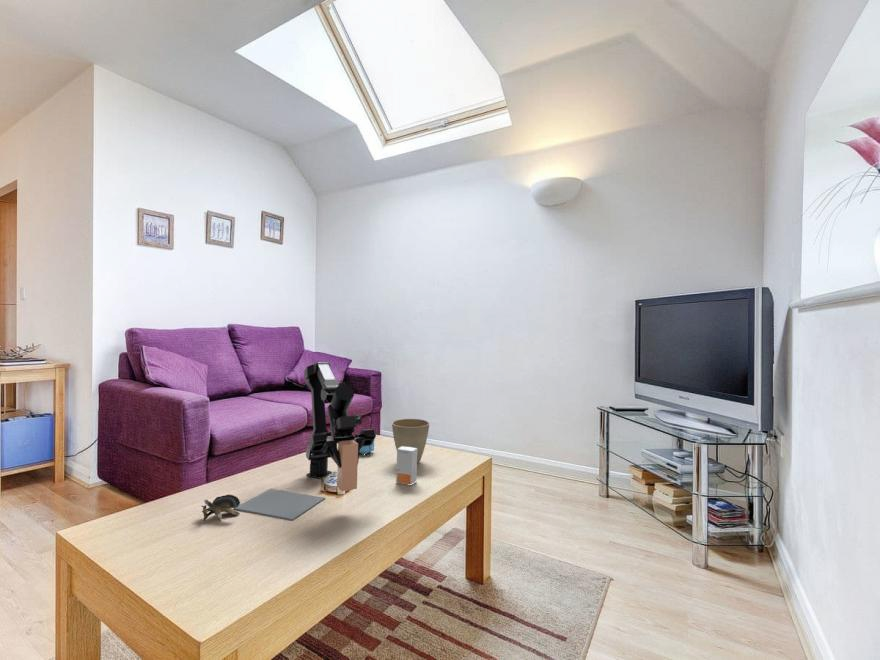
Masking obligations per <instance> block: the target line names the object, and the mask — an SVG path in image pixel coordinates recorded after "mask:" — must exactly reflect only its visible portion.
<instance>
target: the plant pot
mask: <svg viewBox="0 0 880 660" xmlns="http://www.w3.org/2000/svg"><path fill="white" fill-rule="evenodd" d="M391 428H392V435H393V440H394V441H393V442H394V445H395V449H396V451H397V449H398V448H400V447H402V446H405V447H412V448H417V449H418V450H417V463H418V462H419V461H420V462H421V460H422V456H423V453H424V451H425V447H426V445H427V439H428V436H429V428H430V421H428V420H425V419H419V418H401V419H395V420H393V421H392V422H391ZM420 462H419V463H420Z"/></svg>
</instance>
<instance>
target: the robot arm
mask: <svg viewBox="0 0 880 660" xmlns="http://www.w3.org/2000/svg"><path fill="white" fill-rule="evenodd" d="M303 377H304V379H305V383H306V386H307V388H309V391H311V410H312V411H311V412H312V427H313V428H312V429H313V431H312V433H311V435H310V437H309V439H308V441H309V442H308V443H307V446H306V450H305V458H306V459H307V460H308V461H310V462H309V463H310V464H309V472H308V473H306V475H305V476H306V477H312V478H318V479H322V477H323V478H324V476H325V477H326V476H328V475H329V474H332V471H331V470H328V467H329V466H328V463H329V459H328V458H331V459H332V460H333V462H334V463H335V464H336V466H337V468H338V467H339V468H341V460H340V456H339V453H338V441H347V440H354V441H355V442H357V443H358V461H359V460H360V453H359V452H360V449H361V448H362V446H370V445H372V443H373V441H374V442H375V439H376V437H377V434H376V431H375V429H374V428H367V429H361V431H360V433H358V434H353V433H355V431H356V430H355V428H356V427H358V426H360V425H361V424H362V423H363V420H362V415H361V413H359V412H358V413H354V414H353V415H349V414H348V409H349V408H350V406H351V404H352V402H353V399H354V396H355V391H354V390H353V388H352V387H351V386H349V385H347V384H346V382H341V381H338V380H337V379H336V378H335V375H334V374H333V372H332V369H331V364H330V361H329V362H328V361H316V362H313V364H311V365H308V366H306V367H305V368H304V372H303ZM325 404H328V406H327V416H328V420H329V425H330V427H329V429H330V431H329V430H328V428H327V421H326V420H327V419H326V418H327V416H326V405H325Z"/></svg>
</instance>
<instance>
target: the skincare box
mask: <svg viewBox="0 0 880 660" xmlns="http://www.w3.org/2000/svg"><path fill="white" fill-rule="evenodd" d="M417 450H418V449H417V448H412V447H405V446H402V447H400V448H398V449H397V450H396V472H395V476H396V478H395V483H396V482H397V483H396V484H399V483H404V484H412V483H414V482H415V481H416V482H417V475H418V473H417V472H418V468H417V466H418V464H417ZM404 484H403V485H404Z"/></svg>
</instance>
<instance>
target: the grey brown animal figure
mask: <svg viewBox="0 0 880 660" xmlns="http://www.w3.org/2000/svg"><path fill="white" fill-rule="evenodd" d="M203 503H204V504H205V505H201V507H202V511H201V512H202V514H203V521H206V520H207V519H208V518H209V517H210V516H211V515H213V514H214V515H215V516H216V517H217V518H218V520H219V522H221V521H222V513H228V514H232V515H234V516H239V515H240V512H239V511H237V510H234V508H236V507H238V505H240V504H242V502H241V501H240V498H238V497H237V496H235V495H234V494H225V495H221V496H216V497H215V498H214V499H213V501H212V502H211V501H209V500H208V499H204V501H203ZM207 507H208V508H207Z"/></svg>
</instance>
